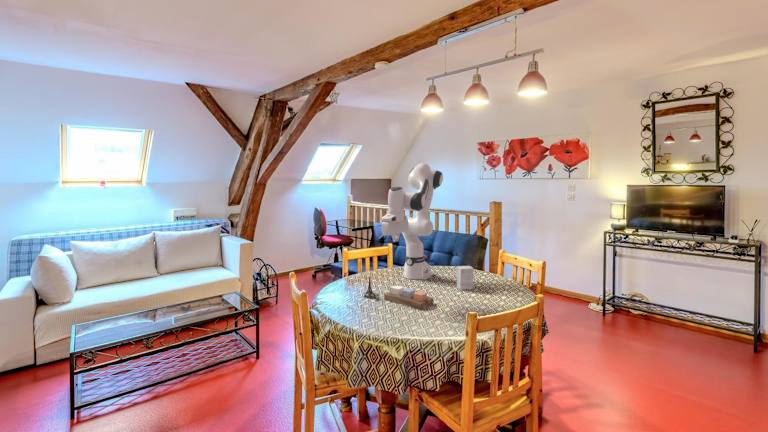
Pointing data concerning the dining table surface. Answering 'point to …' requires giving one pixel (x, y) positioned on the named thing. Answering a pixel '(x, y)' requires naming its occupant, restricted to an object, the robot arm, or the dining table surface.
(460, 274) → the small box
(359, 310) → the dining table surface
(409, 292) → the slate key
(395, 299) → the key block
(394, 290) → the cream cube
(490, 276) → the dining table surface
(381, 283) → the dining table surface
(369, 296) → the eiffel tower figurine
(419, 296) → the peach cube
